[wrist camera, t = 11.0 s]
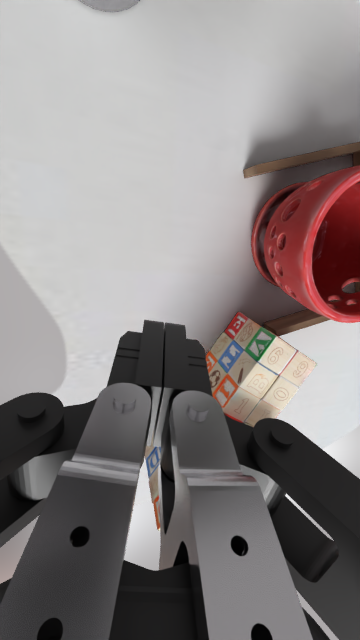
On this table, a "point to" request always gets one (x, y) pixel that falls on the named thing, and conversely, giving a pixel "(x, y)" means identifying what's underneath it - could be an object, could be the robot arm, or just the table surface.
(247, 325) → the stack of blocks
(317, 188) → the plant pot
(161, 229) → the table surface
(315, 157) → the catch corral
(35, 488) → the robot arm
